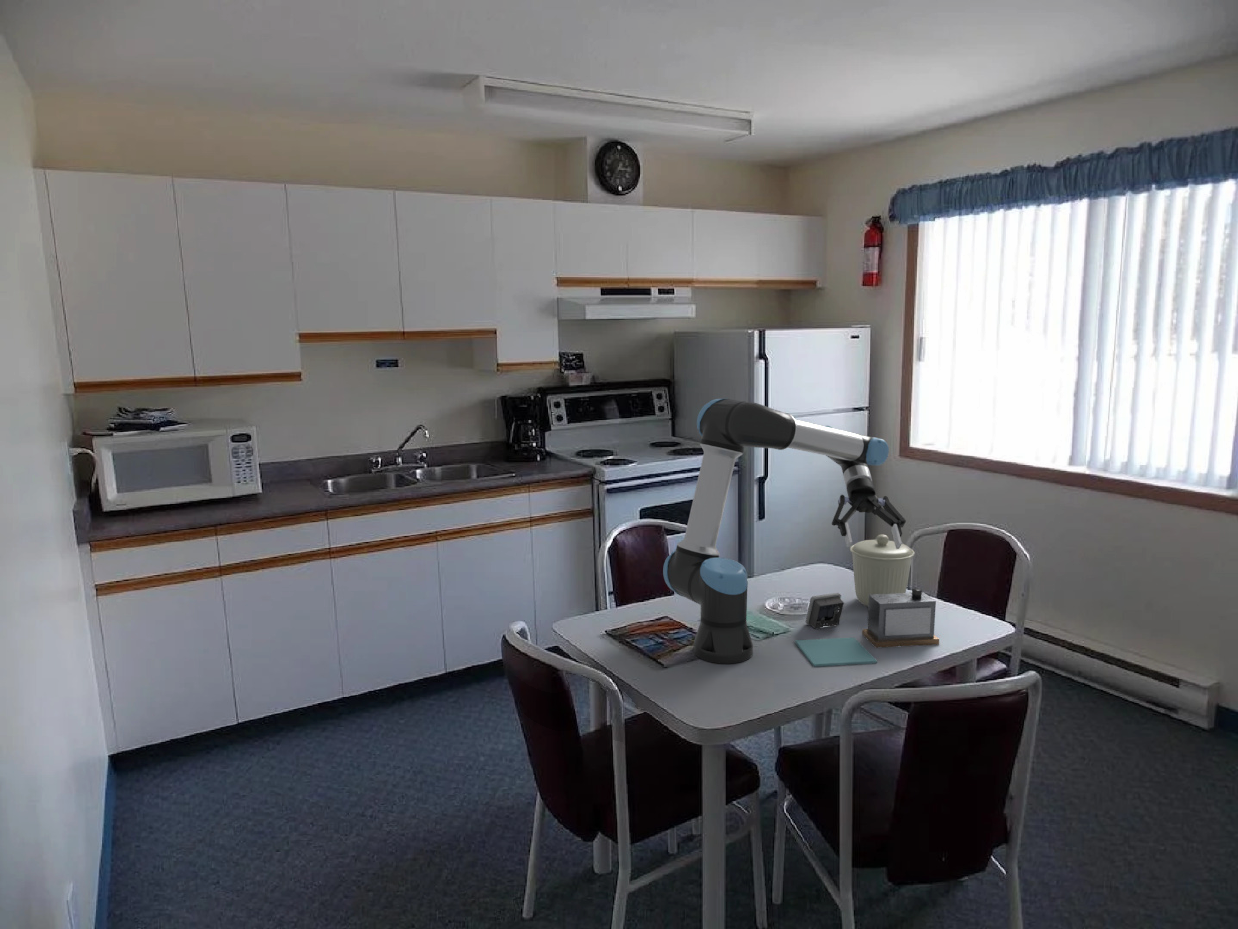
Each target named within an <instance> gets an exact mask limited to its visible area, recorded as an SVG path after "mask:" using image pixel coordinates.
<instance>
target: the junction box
mask: <svg viewBox="0 0 1238 929" xmlns="http://www.w3.org/2000/svg"><path fill="white" fill-rule="evenodd" d="M936 603H937V601H936V600H935V599H933V598H932V597H931V596H929V595H928V594H927V593H925V592H924V591H923V590H922V589H921V588H916V587H915V588H911V592H906V593H895V594H874V595H869V605H868V606H867V607H868V610H867V628H862V629H861V635H862V634H863V635H862V636H863V637H864V638H865V639H866V638H867V639H868V640H867V639H866V640H867V641H868V642H869V643H870V644H871V645H872V644H873V645H874V646H875V647H876V649H877V648H878V647H882V648H895V647H897V648H899V647H898V646H901V647H916V645H919V646H933V645H932V644H936V645H937V644H938V645H940V638H939V637H938V636H936V635H935V623H936V621H935V620H936V619H935V618H936V605H937V604H936ZM873 645H872V646H873ZM936 645H935V646H936ZM874 646H873V647H874ZM875 647H874V648H875Z"/></svg>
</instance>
